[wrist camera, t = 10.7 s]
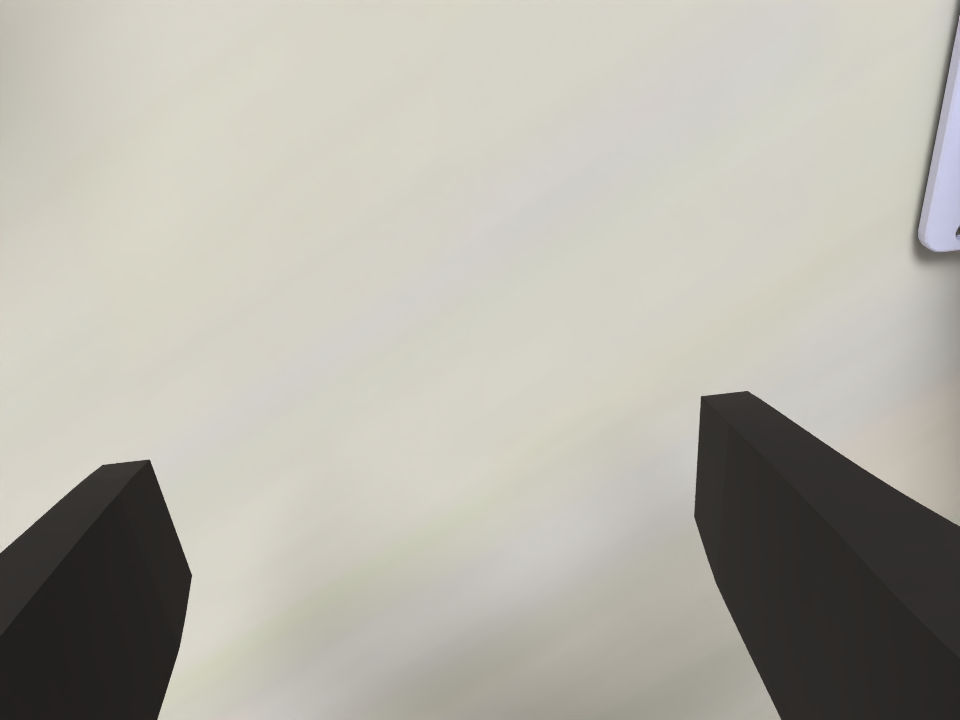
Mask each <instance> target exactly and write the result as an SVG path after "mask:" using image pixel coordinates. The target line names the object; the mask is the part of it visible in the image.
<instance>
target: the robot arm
mask: <svg viewBox="0 0 960 720" xmlns="http://www.w3.org/2000/svg"><path fill="white" fill-rule="evenodd" d="M959 226H960V17H959V22H958V27H957V32H956V37H955V43H954V48H953V53H952V58H951V63H950V68H949V74H948V79H947V84H946V89H945V94H944V100H943V105H942V110H941V115H940V120H939V126H938V131H937V136H936V141H935V146H934V151H933V157H932V162H931V167H930V172H929V177H928V183H927V188H926V193H925V198H924V203H923V208H922V214H921V219H920V224H919V229H918V239H919V240H920V242H921V244H922V245H924V246H925V247H927V248H928V249H930V250H932V251H933V252H948V251H957V250H960V234H959V235H956V231H957V229H958V227H959ZM694 517H695V520H696V523H697V527H698V530H699V533H700V536H701V539H702V542H703V546H704V549H705V552H706V555H707V558H708V561H709V564H710V567H711V570H712V572H713V575H714V578H715V581H716V584H717V586H718V588H719V590H720V593H721V595H722V597H723V599H724V601H725V603H726V605H727V608H728V610H729V612H730V614H731V616H732V618H733V620H734V622H735V624H736V626H737V629H738V631H739V633H740V635H741V637H742V639H743V641H744V643H745V645H746V647H747V649H748V651H749V654H750V656H751V658H752V660H753V662H754V664H755V666H756V668H757V670H758V672H759V674H760V676H761V678H762V680H763V682H764V685H765V687H766V689H767V691H768V693H769V695H770V697H771V699H772V701H773V703H774V705H775V707H776V709H777V711H778V713H779V716H780V718H781V720H960V526H958V525H956V524H954V523H952V522H951V521H949V520H947V519H946V518H944V517H942V516H940V515H939V514H937V513H935V512H933V511H932V510H930V509H928V508H927V507H925V506H923V505H921V504H920V503H918V502H916V501H915V500H913V499H911V498H909V497H908V496H906V495H904V494H903V493H901V492H899V491H898V490H896V489H895V488H893V487H891V486H890V485H888V484H886V483H885V482H883V481H882V480H880V479H878V478H877V477H875V476H874V475H872V474H871V473H869V472H867V471H866V470H864V469H863V468H861V467H860V466H858V465H857V464H855V463H854V462H852V461H851V460H849V459H848V458H846V457H844V456H843V455H841V454H840V453H839V452H837V451H836V450H834V449H833V448H831V447H830V446H828V445H827V444H825V443H824V442H822V441H821V440H819V439H818V438H816V437H815V436H813V435H812V434H811V433H809V432H808V431H806V430H805V429H803V428H802V427H800V426H799V425H797V424H796V423H794V422H793V421H792V420H790V419H789V418H787V417H786V416H784V415H783V414H781V413H780V412H779V411H777V410H776V409H774V408H773V407H771V406H770V405H768V404H767V403H765V402H764V401H762V400H761V399H759V398H758V397H756V396H754V395H753V394H751V393H750V392H748V391H744V392H735V393H726V394H718V395H709V396H701V408H700V425H699V443H698V460H697V478H696V495H695V513H694ZM191 578H192V574H191V571H190V569H189V566H188V563H187V560H186V558H185V555H184V552H183V549H182V547H181V544H180V541H179V538H178V536H177V533H176V530H175V527H174V525H173V522H172V519H171V516H170V514H169V511H168V508H167V506H166V503H165V500H164V497H163V495H162V492H161V489H160V486H159V484H158V481H157V478H156V475H155V473H154V470H153V467H152V464H151V462H150V460H142V461H133V462H124V463H116V464H107V465H102V466H101V467H100V468H98V469H97V470H96V471H94V472H93V473H92V474H90V475H89V476H88V477H87V478H86V479H84V480H83V481H82V482H81V483H80V484H78V485H77V486H76V487H75V488H74V489H73V490H71V491H70V492H69V493H68V494H67V495H66V496H65V497H63V498H62V499H61V500H60V501H59V502H58V503H57V504H55V505H54V506H53V507H52V508H51V509H50V510H49V511H48V512H46V513H45V514H44V515H43V516H42V517H41V518H40V519H39V520H38V521H36V522H35V523H34V524H33V525H32V526H31V527H30V528H29V529H27V530H26V531H25V532H24V533H23V534H22V535H21V536H19V537H18V538H17V539H16V540H15V541H14V542H13V543H12V544H10V545H9V546H8V547H7V548H6V549H5V550H4V551H2V552H1V553H0V720H157V719H158V715H159V712H160V709H161V706H162V703H163V700H164V697H165V693H166V690H167V687H168V684H169V681H170V677H171V674H172V671H173V668H174V664H175V661H176V658H177V654H178V651H179V648H180V643H181V637H182V632H183V627H184V622H185V616H186V610H187V604H188V598H189V591H190V585H191Z"/></svg>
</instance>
